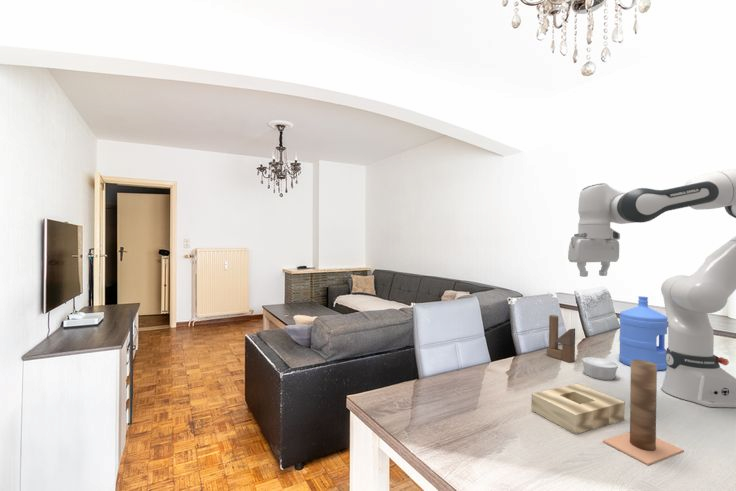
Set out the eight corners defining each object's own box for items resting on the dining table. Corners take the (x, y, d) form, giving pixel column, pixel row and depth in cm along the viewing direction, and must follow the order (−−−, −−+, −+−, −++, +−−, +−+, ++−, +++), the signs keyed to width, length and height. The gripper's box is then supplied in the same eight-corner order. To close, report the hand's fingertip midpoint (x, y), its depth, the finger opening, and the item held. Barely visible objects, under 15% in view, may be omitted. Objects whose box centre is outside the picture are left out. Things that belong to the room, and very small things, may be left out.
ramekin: (618, 384, 124) (618, 369, 124) (581, 377, 130) (582, 363, 130) (616, 374, 134) (616, 360, 134) (582, 368, 140) (582, 355, 140)
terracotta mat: (637, 430, 93) (637, 429, 93) (683, 451, 83) (683, 449, 83) (602, 441, 87) (602, 440, 87) (648, 465, 78) (648, 463, 78)
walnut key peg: (648, 440, 87) (649, 360, 87) (660, 452, 82) (661, 367, 82) (625, 438, 88) (626, 359, 88) (636, 449, 83) (637, 365, 83)
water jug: (625, 367, 140) (626, 298, 140) (614, 356, 155) (615, 293, 155) (674, 373, 134) (675, 301, 134) (658, 361, 149) (658, 295, 149)
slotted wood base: (577, 399, 111) (577, 383, 111) (624, 419, 98) (624, 402, 98) (531, 410, 103) (531, 393, 103) (575, 434, 91) (575, 415, 91)
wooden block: (569, 363, 146) (570, 320, 145) (546, 355, 155) (546, 315, 155) (575, 361, 147) (575, 319, 147) (552, 354, 157) (552, 314, 157)
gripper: (581, 233, 107) (581, 278, 107) (623, 234, 115) (623, 276, 115) (562, 233, 113) (562, 276, 113) (604, 234, 121) (604, 274, 121)
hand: (593, 276), depth 114 cm, fingers open, 8 cm apart
